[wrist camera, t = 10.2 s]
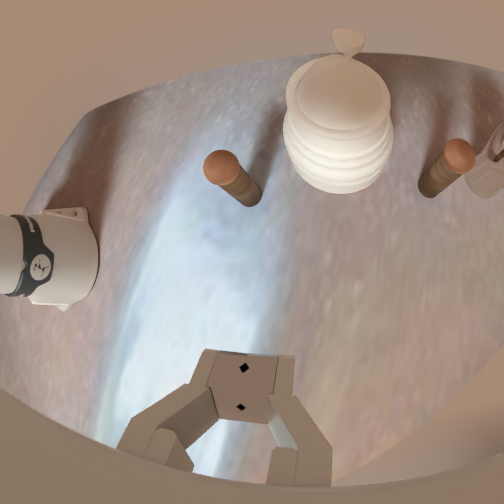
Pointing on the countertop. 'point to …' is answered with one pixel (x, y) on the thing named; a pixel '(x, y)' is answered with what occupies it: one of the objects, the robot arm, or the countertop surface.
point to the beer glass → (488, 166)
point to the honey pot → (338, 119)
